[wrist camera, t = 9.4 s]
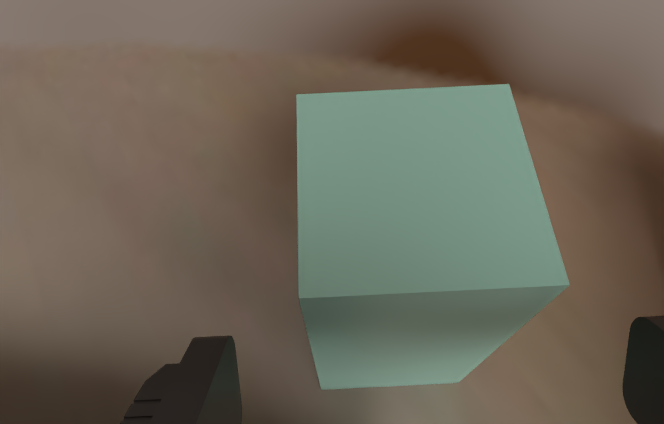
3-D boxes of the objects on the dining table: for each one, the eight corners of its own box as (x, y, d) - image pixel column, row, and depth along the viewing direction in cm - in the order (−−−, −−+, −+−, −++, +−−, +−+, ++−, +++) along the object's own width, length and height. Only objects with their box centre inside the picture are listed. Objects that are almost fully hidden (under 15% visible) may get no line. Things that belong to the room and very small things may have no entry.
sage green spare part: (321, 389, 18) (298, 298, 9) (317, 263, 20) (296, 94, 11) (457, 382, 18) (569, 284, 9) (437, 257, 20) (509, 83, 11)
